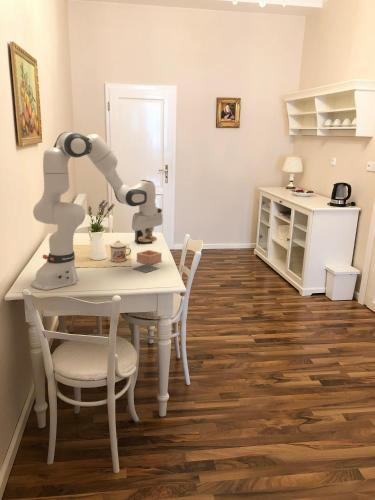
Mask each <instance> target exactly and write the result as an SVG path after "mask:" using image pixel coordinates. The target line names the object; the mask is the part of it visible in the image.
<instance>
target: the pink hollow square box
mask: <svg viewBox="0 0 375 500" xmlns="http://www.w3.org/2000/svg"><path fill="white" fill-rule="evenodd" d="M136 262H137V263H140V264H141V263H142V264H143V265H145V264H147V265H150V266H152V265H154V264H157V263H160V262H162V252H159V251H155V250H151V249H145V250H144V251H139V252H137V253H136Z"/></svg>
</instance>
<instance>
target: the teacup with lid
mask: <svg viewBox="0 0 375 500" xmlns="http://www.w3.org/2000/svg"><path fill="white" fill-rule="evenodd" d="M127 249H128V250H129V253H127ZM131 253H132V249H131V248H130V247H129V246H127V244H125V243H124V242H122V241H120V240H119V239H118V240H116V242H113V243H111V244H110V260H112V261H111V262H113V261H114V263H122V261H123V262H125V261H126V260H127V257H129V255H131Z"/></svg>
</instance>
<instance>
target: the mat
mask: <svg viewBox="0 0 375 500" xmlns="http://www.w3.org/2000/svg"><path fill="white" fill-rule="evenodd" d="M159 268H160V267H157V266H153V265H147V264H142V265H139V266H136V267H133V268H132V270H135V271H138V272H141V273H145V274H147V273H150V272H153V271H156V270H159Z"/></svg>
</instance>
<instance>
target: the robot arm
mask: <svg viewBox="0 0 375 500" xmlns="http://www.w3.org/2000/svg"><path fill="white" fill-rule="evenodd" d="M85 156H87V157H88V158H89V160H90V161H91V163H93V165H94V166H95V168H97V170H98V171H100V173H101V174H102V175H103V176H104V178H105V179H106V180H107V182H108V183H109V185H110V186H111V188H112V190H113V192H114V196H115V199H116V201H117V202H119V204H124V205H127V206H128V207H137V206H138V212H135V213H134V214H133V215H132V220H131V229H132V231H134V232H135V231H138V230H141V231H142V233H143V237H146V236H147V233H145V231H146V229H147V228H150V235H152V236H153V231H154V230H155V227H159V226H161V225H162V224H163V222H164V221H163V220H164V219H163V214H162V213H163V209H162V208H161V207H157V206H156V185H155V183H154V181H152V180H146V179H141V180H139V181H138V182H137V183H135V184H134V185H132V186H130V185H128V184H126V183H125V182H124V181H123V179H122V178H121V177H120V175H119V174H118V172H117V170H116V168H117V166H118V159H117V156H116V155H115V153H114V151H113V150H112V149H111V147H110V146H109V144H108V143H107V142H106V140H104V139H103V138H102V137H101V136H100V135H99V134H97V133H91V134H88V135H87V136H85V135H83V134H80V133H78V132H74V131H65V132H62V133H60V134H59V135H58V137H57V139H56V141H55V143H54V145H53V147H48V148H47V149H45V150H44V153H43V156H42V157H43V158H42V172H43V193H42V196H41V198H40V200H39V201H38V202H37V203H35V205H34V207H33V210H32V214H33V218H34V219H35V220H36V221H37V222H39V223H43V224H46V225H56V226H57V231H55V232H53V233H52V234H51V235H50V236H49V238H48V245H49V248H48V249H49V253H48V255H47V254H43V255H42V259H44V260H46V262H45V263H44V264H42V266H41V267H40V268H39V269H37V271H36V273H35V280H32V281H31V282H30V285H31V286H32V287H33V288H35V289H38V290H40V291H50V290H54V289H60V288H63V287H68V286H72V285H76V284H77V282H78V280H79V276H78V273H77V270H76V264H75V256H76V255H75V251H74V235H75V232H76V230H77V228H78V227H79V226H80V225H82V224H83V223H84V221H85V218H86V210H85V209H84V207H83V206H82V205H80V204H78V203H74V202H66V201H61V197H62V195H64V194H65V193H67V192H68V191H69V189H70V179H69V178H70V177H69V174H70V173H69V166H68V165H69V161H70V159H71V158H82V157H85Z"/></svg>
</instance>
